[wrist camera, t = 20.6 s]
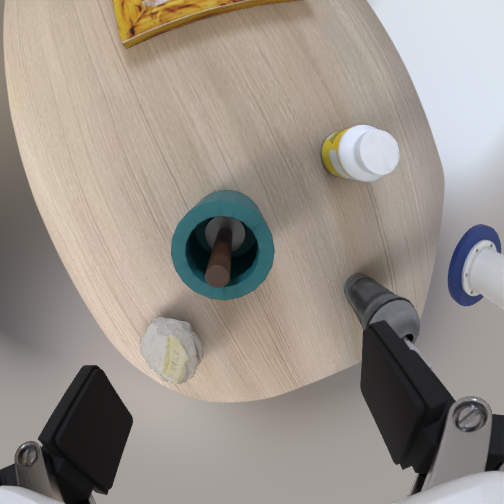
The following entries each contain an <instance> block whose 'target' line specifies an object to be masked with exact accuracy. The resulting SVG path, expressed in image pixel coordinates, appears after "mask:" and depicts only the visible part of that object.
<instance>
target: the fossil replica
mask: <svg viewBox="0 0 504 504" xmlns="http://www.w3.org/2000/svg"><path fill="white" fill-rule="evenodd" d="M140 350H141V355H142V356H143V357H144V358H145V360H146V363H147V365H148V366H149V367H150V368H151V369H153V370H154V371H156V372H157V373H158V374H159V375H160V376H161V379H162V380H163V381H170V382H176V383H183V382H186V381H187V380H189V379H191V378H192V377H193V375H194V373H195V371H196V369H197V366H198V364H199V363H200V362H201V359H202V358H203V346H202V343H201V341H200V339H199V337H198V336H197V335H196V333H194V330H193V329H192V326H191V325H190V324H189V323H188V322H185V321H179V320H175V319H172V318H171V319H168V318H162V317H157V318H155V319H153V320H152V321H151V323H150V324H149V325H148V327H147V330H146V332H145V335H144V336H143V337H142V338H141V340H140Z"/></svg>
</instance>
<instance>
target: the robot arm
mask: <svg viewBox="0 0 504 504" xmlns="http://www.w3.org/2000/svg"><path fill="white" fill-rule="evenodd" d="M462 287H463V289H464V291H465V292H466V293H467V294H468V295H470V296H477V295H479V294H481V295H483V296H484V297H486V298H487V299H489V300H490V301H492V302H493V303H494V304H496V305H497V306H499V307H500V308H502V309H503V310H504V255H502V254H500V253H498V252H497V250H496V247H495V245H494V244H493V243H492V242H491V241H489V240H481V241H479V242H478V243H476V244H475V245H474V246H473V248H472V249H471V250H470V252H469V254H468V256H467V258H466V260H465V263H464V266H463V270H462ZM360 386H361V391H362V394H363V396H364V399H365V401H366V403H367V405H368V407H369V409H370V411H371V413H372V415H373V418H374V419H375V422H376V424H377V426H378V428H379V431H380V433H381V435H382V437H383V439H384V442H385V444H386V446H387V448H388V450H389V453H390V455H391V457H392V459H393V462H394V463H395V464H396V465H397V464H400V465H401V467H402V469H405V468H408V467H410V466H412V467H413V469H414V471H415V472H416V473H417V475H416V477H415V480H414V482H413V485H412V487H411V490H410V492H409V494H408V496H407V498H404V499H401V500H399V501H396V502H393V503H391V504H504V415H496V414H492V410H491V408H490V406H489V404H488V403H486V401H485V400H483V399H481V398H478V397H474V396H470V397H464V398H461V399H459V400H458V401H455V400H454V399H453V397H452V396H451V394H450V393H449V392H448V390H447V389H446V388H445V387H444V385H443V384H442V383H441V382H440V380H439V379H438V378H437V377H436V375H435V374H434V373H433V372H432V370H431V369H430V368H429V366H428V365H427V364H426V363H425V361H424V360H423V359H422V358H421V357H420V355H419V354H418V353H417V352H416V351H415V350H412V349H411V350H410V349H409V348H408V347H407V346H406V344H405V343H404V342H403V341H402V340H401V338H400V337H399V336H398V335H397V333H396V332H395V331H394V330H393V329H392V327H391V326H390V325H389V324H388V323H387V322H386V321H385V320H381V321H378V322H375V323H371V324H369V325H368V327H367V329H366V330H364V331H363V348H362V369H361V385H360ZM132 423H133V418H132V416H131V414H130V412H129V411H128V410H127V408H126V407H125V405H124V403H123V402H122V400H121V399H120V397H119V396H118V394H117V393H116V391H115V389H114V388H113V386H112V385H111V383H110V381H109V380H108V378H107V376H106V374H105V373H104V371H103V370H102V369H100V368H99V367H98V366H96V365H85V366H83V367H82V368H81V369H80V371H79V373H78V374H77V375H76V377H75V378H74V380H73V382H72V383H71V385H70V386H69V388H68V389H67V391H66V392H65V394H64V396H63V397H62V399H61V401H60V402H59V404H58V405H57V407H56V409H55V410H54V412H53V413H52V415H51V417H50V419H49V420H48V422H47V424H46V425H45V427H44V429H43V431H42V433H41V434H40V436H39V438H38V440H39V441H40V442H41V443H42V444H43V446H42V447H41V446H40V445H39V444H38V443H36V442H33V441H29V442H26V443H24V444H22V445H21V446H20V447H19V448H18V449H17V451H16V454H15V463H14V464H12V465H10V466H8V467H5V468H3V469H1V470H0V504H96V502H95V500H94V498H93V496H92V494H91V493H92V490H94V491H95V492H97V493H100V494H105V495H107V494H108V490H109V489H111V488H112V485H113V482H114V478H115V476H116V472H117V469H118V466H119V463H120V459H121V456H122V453H123V450H124V447H125V444H126V441H127V438H128V435H129V433H130V430H131V427H132Z"/></svg>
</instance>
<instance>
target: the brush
mask: <svg viewBox="0 0 504 504" xmlns="http://www.w3.org/2000/svg"><path fill="white" fill-rule="evenodd" d="M245 236H246V233H245V225H244V223H243V222H242V221H239V220H237V219H235V218H233V217H226V216H217V217H212V218H210V220H209V222H208V224H207V226H206V229H205V240H206V242H207V244H208V246H209V247H210V248H211V249H212V253H211V257H210V260H209V263H208V267H207V270H206V274H205V278H206V281H207V283H208V284H209V285H210V286H212V287H215V288H221V287H224V286H225V285H227V283H228V282H229V279H230V267H231V253H233V252H235V251H237V250H238V249H239V248H240V247H241V246H242V245H243V243H244V241H245Z"/></svg>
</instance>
